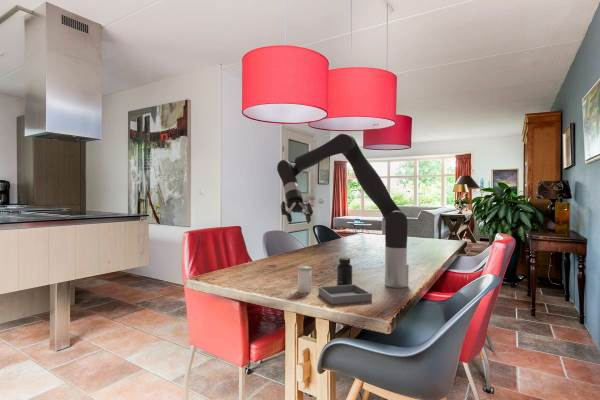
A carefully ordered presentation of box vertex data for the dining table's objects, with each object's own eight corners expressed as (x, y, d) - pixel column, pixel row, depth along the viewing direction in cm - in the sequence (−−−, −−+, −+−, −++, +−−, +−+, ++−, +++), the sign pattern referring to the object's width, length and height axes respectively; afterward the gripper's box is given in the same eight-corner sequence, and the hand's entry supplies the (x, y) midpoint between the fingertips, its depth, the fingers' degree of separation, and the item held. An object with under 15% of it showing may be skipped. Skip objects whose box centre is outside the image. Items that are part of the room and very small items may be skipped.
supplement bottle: (342, 282, 157) (342, 256, 157) (355, 285, 152) (355, 258, 152) (333, 285, 152) (334, 258, 151) (347, 288, 147) (347, 260, 147)
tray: (354, 291, 142) (354, 284, 142) (371, 301, 129) (371, 293, 129) (318, 294, 138) (318, 287, 138) (332, 305, 124) (332, 297, 124)
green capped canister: (308, 289, 146) (308, 265, 146) (313, 292, 140) (313, 268, 140) (295, 290, 144) (295, 266, 144) (299, 293, 138) (300, 269, 138)
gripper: (280, 187, 155) (287, 216, 145) (309, 189, 160) (317, 217, 150) (276, 198, 160) (282, 226, 150) (304, 200, 165) (312, 227, 155)
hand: (300, 222), depth 150 cm, fingers open, 8 cm apart
